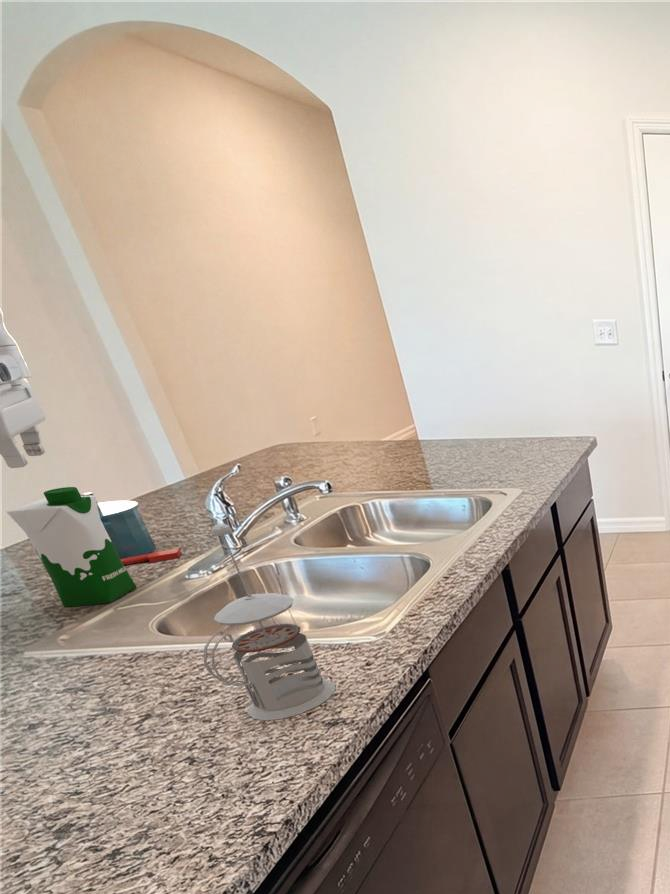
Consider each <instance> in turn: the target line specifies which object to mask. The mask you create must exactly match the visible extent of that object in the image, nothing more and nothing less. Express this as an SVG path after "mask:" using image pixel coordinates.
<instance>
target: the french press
mask: <svg viewBox="0 0 670 894" xmlns="http://www.w3.org/2000/svg"><path fill="white" fill-rule="evenodd" d="M210 531H211V534H212V536H214V537H221V536H222V538H223V540H224V543H225V545H226V547H227V548H226V549H227V550H228V552H229V555H230V557H231V559H232V562H233V564H234V566H235V569H236V571H237V573H238V576H239V579H240V580H241V583H242V586H243V588H244V590H245V593H246V594H247V595H246V596H243V597H240V598H237V599H234V600H233V601H231V602H229V603H227V604H225V606H224V607H223V608H221V609H220V610H219V611H218V612H217V613H216V614H215V615H214V617H213V620H214V621H215V622H216V623H217V624H219V625H220V626H227V627H235V626H237V627H238V626H244V625H250V624H254V623H259V625H260V627H259V628H256V629H253V630H249V631H248V632H245V633H243V634H242V635H240V636H239V637H237V638H236V639H235V640H234V638H233V636H232V634H231V633H224V632H223V631H215V633H213V635H211V637H209V639H208V640H207V641H206V643H205V645H204V647H203V648H204V649H203V656H202V657H203V663H204V666H205V668H206V669H207V672H208V673H209V674H210V675H211V676H212V677H213V678H215V679H216V680H218V681H220V682H222V683H226V684H227V685H232V686H236V687H241V686H244V687H245V690H246V691H247V694H248V696H249V698H250V700H251V704H250V705H249V707H248V712H247V714H248V716H250V717H251V718H252V719H254V720H258V721H259V720H260V721H266V722H267V721H274V720H282V719H283V720H284V719H287V718H291V717H293V716H298V715H300V714H302V713H305V712H308V711H310V710H312V709H314V708H316V707H318V706H320V705H321V704H323V703H324V702H326V701H328V700H329V699H330V697H331V696H332V695H333V694H334V693H335V692H336V684H335V683H334V682H333V681H331V680H329V679H326V678H323V676H322V673H321V671H320V668H319V665H318V664H317V661H316V658H315V656H314V654H313V653H314V652H313V651H312V648H311V645H310V644H309V641H308V638H307V636H306V634H304V633H300V632H301V627H300V626H299V625H297V624H293V623H280V624H279V623H277V624H276V623H274V624H272V625H268V626H267V625H266V626H264V625H263V623H262V621H266V620H269V619H272V618H275V617H277V616H279V615H280V614H283V613H285V612H287V611H288V610H290V609H291V608H292V606H293V603H294V597H291V596H290V595H287V594H282V593H277V592H264V593H252V594H250V592H249V589H248V588H247V585H246V583H245V581H244V579H243V575H242V574H241V571H240V568H239V566H238V564H237V561H236V559H235V557H234V555H233V554H234V553H233V552H232V550H231V547H230V545H229V543H228V541H227V538H226V536H225V535H230V534H232V533H234V532H233V531H234V530H233V529H232V528H231V526H230V525H228V524H226V523H218V524H215V525H214V526H212V527H211V529H210ZM219 634H220V635H221V637H220V638H219V639H218V640H217V641H216V642H215V643H214V645H213V648H212V650H211V666H212V668H213V670H212V668H211V666H210V664H209V663H208V658H207V657H208V656H207V654H208V648H209V646H210V643H211V641H212V640H213V639H214V638H215V637H216V636H217V635H219ZM227 637H228V638H229V639H228V638H227ZM222 640H224V641H226V642H227V643H232V645H231V648H232V649H233V650H234V651H235V652H234V654H233V659H234V662H235V664H236V666H237V668H238V671H239V673H240V675H241V678H242V680H241V679H240V680H228V679H226V678H225V677H224V676H223V675H221V673H220V672H219V671H218V668H217V666H216V663H215V652H216V650H217V648H218V646H219V644H220V642H221V641H222ZM292 647H294V649H293V650H290V651H281V652H263V651H267V650H275V649H276V650H277V649H287V648H292ZM247 653H254V654H251V655H249V656H248V657H246V659H245V660H244V661H242V660H243V658H244V657H245V655H247ZM260 658H268V659H263V660H257V659H260ZM253 660H255V661H253ZM256 660H257V661H256ZM287 665H289V666H287ZM277 666H284V667H282V668H275V667H277ZM213 671H214V672H215V673H214V672H213ZM301 671H304V672H301ZM289 673H290V674H289ZM291 673H294V674H291ZM283 674H289V675H285V676H281V675H283Z"/></svg>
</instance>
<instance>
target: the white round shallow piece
mask: <svg viewBox="0 0 670 894" xmlns="http://www.w3.org/2000/svg"><path fill="white" fill-rule="evenodd" d="M80 495H81V496H89V495H94V493H93V492H82V493H80ZM96 502H97V507H98V511H99V515H100V519H103V518H108V517H112V516H116V515H120V514H123V513H126V512H129V511H132V510H134V509H136V508H137V509H138V508H139V506H140V504H139V502H137V501H135V500H111V501H103V502H98V500H96Z"/></svg>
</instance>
